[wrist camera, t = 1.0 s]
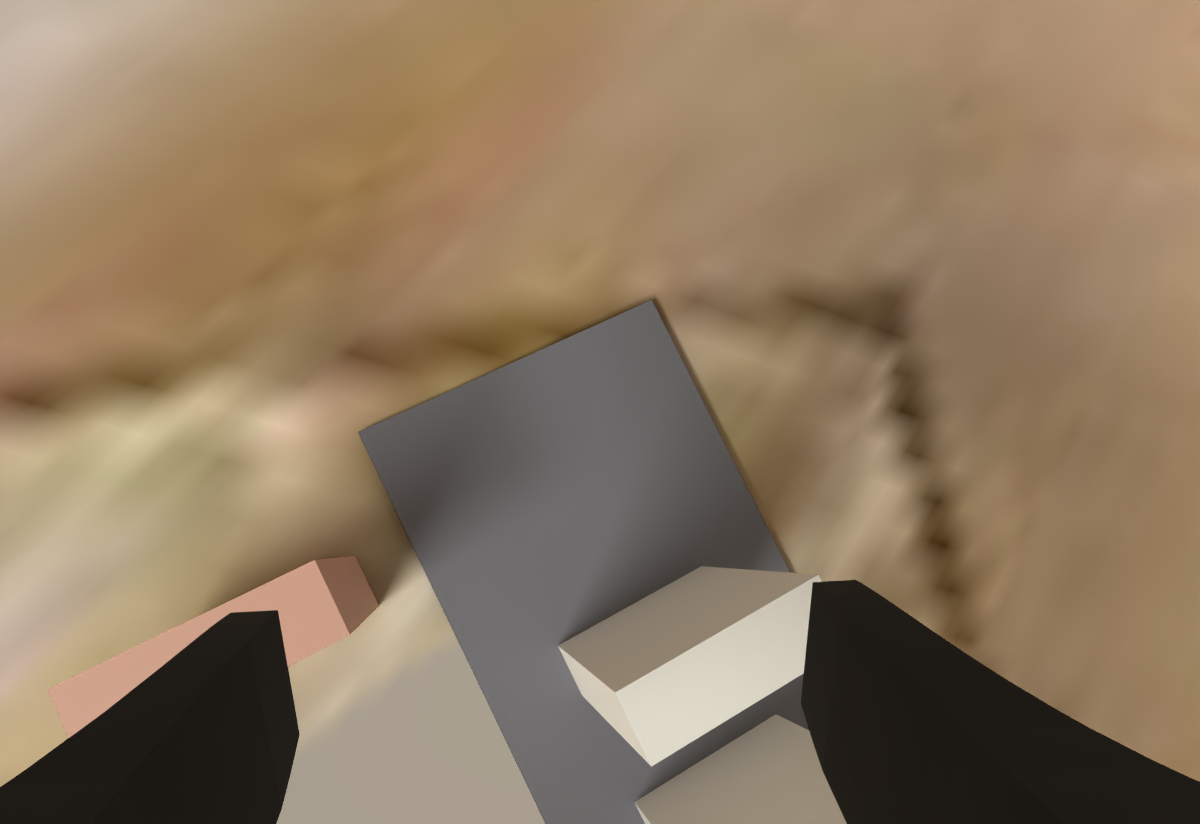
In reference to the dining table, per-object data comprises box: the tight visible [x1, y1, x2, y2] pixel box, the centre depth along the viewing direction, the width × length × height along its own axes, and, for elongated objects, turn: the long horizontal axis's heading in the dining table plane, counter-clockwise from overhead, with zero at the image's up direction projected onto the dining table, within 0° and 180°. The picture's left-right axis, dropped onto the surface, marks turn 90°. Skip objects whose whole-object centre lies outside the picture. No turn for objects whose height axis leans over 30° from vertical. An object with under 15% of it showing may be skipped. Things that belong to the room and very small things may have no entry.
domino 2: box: [558, 566, 822, 767], centre depth 21 cm, size 2×5×8 cm, turn 117°
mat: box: [358, 300, 809, 824], centre depth 24 cm, size 28×10×1 cm, turn 27°
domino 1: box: [47, 556, 379, 738], centre depth 19 cm, size 2×5×8 cm, turn 117°
